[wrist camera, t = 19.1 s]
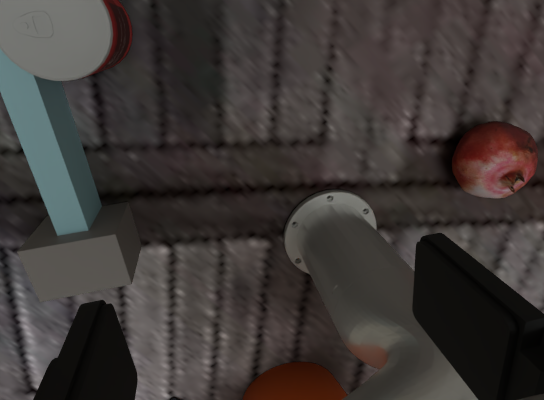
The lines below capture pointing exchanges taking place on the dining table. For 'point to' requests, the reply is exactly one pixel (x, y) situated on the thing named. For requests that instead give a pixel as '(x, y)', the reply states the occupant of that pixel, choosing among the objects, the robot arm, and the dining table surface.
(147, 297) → the dining table surface
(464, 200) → the dining table surface
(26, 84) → the teal gray angled bar
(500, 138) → the fruit
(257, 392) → the flowerpot
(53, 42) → the canned food
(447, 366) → the robot arm
